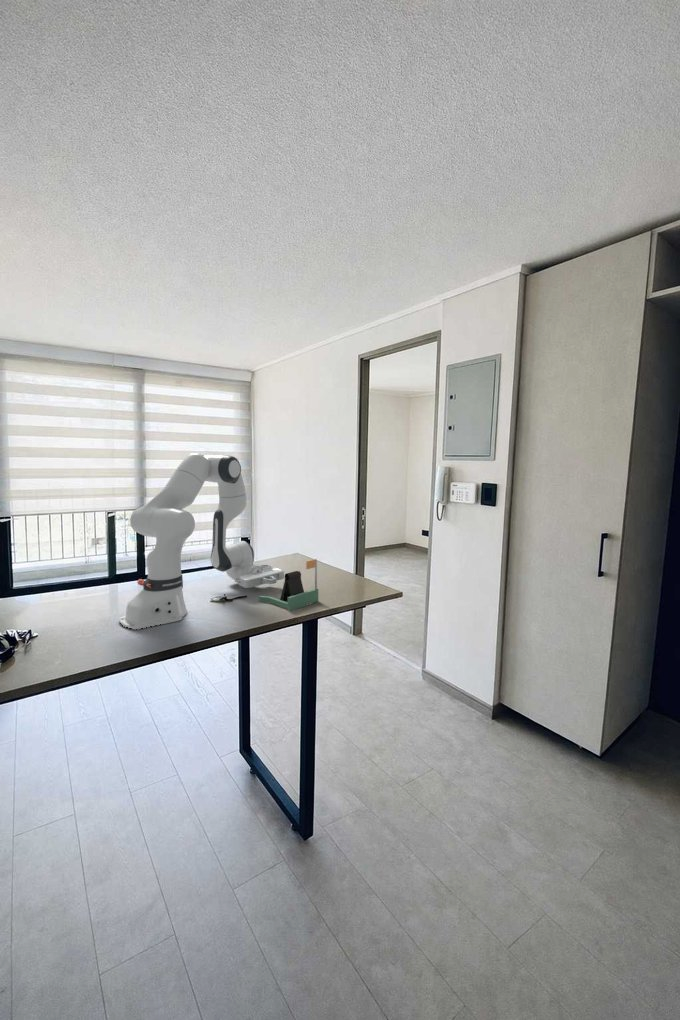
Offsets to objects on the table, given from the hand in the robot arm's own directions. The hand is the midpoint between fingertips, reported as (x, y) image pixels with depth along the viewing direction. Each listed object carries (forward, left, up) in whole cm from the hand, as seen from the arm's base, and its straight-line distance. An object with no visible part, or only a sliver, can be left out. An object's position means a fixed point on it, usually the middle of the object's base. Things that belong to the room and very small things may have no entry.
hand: (273, 581), depth 182 cm
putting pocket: (0, -9, -6) cm, 11 cm away
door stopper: (0, -11, -6) cm, 13 cm away
